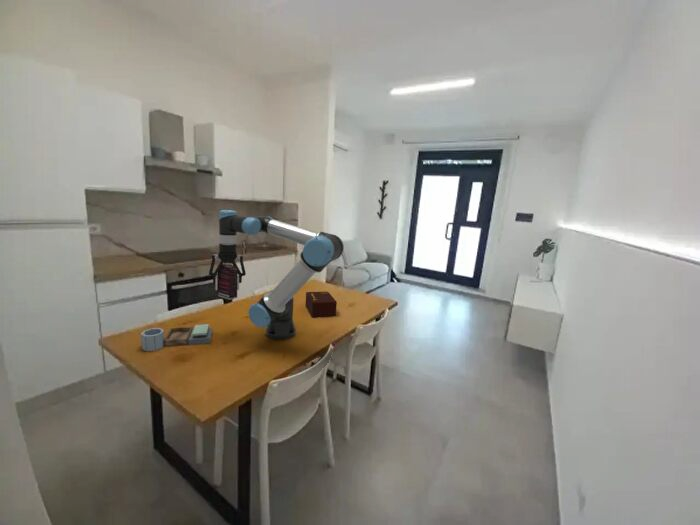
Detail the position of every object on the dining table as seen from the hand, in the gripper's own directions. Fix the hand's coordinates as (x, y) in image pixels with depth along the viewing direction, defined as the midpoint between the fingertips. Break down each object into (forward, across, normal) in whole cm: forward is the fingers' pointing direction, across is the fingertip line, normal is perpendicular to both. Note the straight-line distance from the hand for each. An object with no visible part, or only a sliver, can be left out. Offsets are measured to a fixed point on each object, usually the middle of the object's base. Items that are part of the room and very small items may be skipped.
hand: (227, 289), depth 145 cm
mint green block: (+22, +12, +3) cm, 25 cm away
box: (+24, -54, -27) cm, 64 cm away
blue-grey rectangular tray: (+24, +12, +3) cm, 27 cm away
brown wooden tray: (+24, +21, +2) cm, 32 cm away
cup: (+24, +30, +8) cm, 39 cm away
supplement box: (+4, 0, 0) cm, 4 cm away
